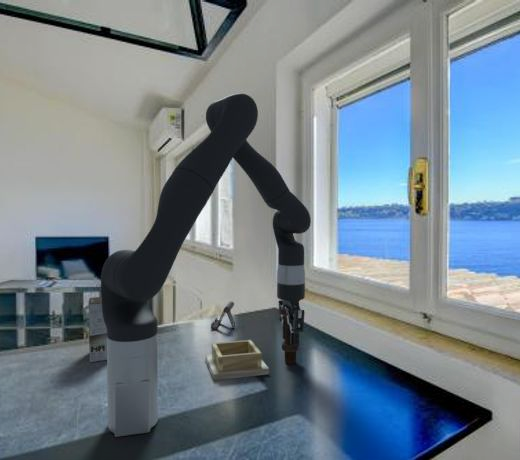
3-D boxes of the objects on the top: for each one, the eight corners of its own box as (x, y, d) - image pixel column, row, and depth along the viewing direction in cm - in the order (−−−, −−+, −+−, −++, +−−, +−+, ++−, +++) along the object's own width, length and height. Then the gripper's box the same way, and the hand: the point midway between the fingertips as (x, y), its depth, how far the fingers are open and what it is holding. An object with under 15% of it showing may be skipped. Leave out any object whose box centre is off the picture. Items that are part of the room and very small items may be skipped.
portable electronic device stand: (216, 323, 145) (216, 300, 145) (237, 324, 144) (237, 301, 144) (210, 330, 136) (210, 306, 136) (233, 331, 135) (233, 307, 135)
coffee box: (114, 359, 108) (113, 301, 108) (89, 362, 106) (88, 303, 105) (112, 348, 117) (112, 295, 116) (89, 351, 114) (88, 297, 113)
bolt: (304, 362, 106) (305, 308, 106) (293, 367, 103) (293, 311, 102) (287, 357, 110) (288, 304, 110) (276, 362, 107) (276, 307, 106)
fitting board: (268, 374, 99) (268, 354, 98) (213, 380, 95) (213, 360, 95) (254, 354, 112) (254, 337, 112) (205, 359, 108) (205, 341, 108)
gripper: (314, 285, 100) (314, 350, 101) (294, 276, 114) (293, 333, 114) (287, 286, 98) (286, 352, 98) (269, 277, 112) (269, 335, 112)
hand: (290, 342), depth 106 cm, fingers open, 5 cm apart
